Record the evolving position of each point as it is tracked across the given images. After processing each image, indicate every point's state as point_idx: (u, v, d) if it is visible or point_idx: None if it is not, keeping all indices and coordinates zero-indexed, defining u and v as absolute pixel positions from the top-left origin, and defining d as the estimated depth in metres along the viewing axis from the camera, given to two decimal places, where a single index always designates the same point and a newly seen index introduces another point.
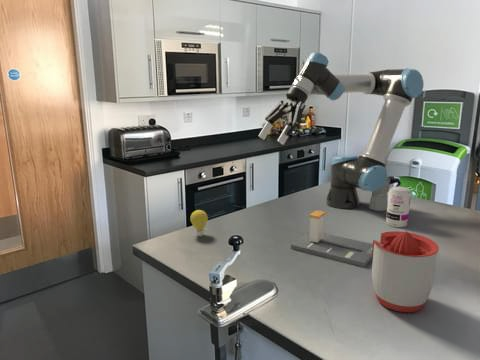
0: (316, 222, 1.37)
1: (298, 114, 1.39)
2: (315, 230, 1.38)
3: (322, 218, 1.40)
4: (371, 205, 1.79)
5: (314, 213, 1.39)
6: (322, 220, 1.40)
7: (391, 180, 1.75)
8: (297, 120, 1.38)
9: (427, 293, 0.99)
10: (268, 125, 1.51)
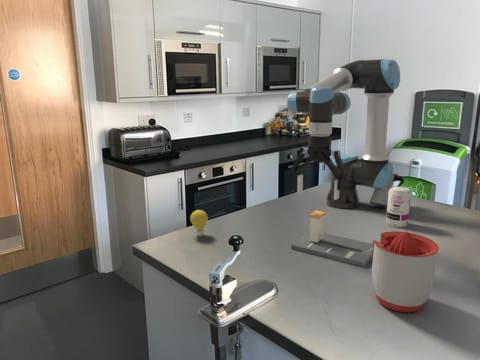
0: (316, 222, 1.37)
1: (342, 166, 1.30)
2: (315, 230, 1.38)
3: (322, 218, 1.40)
4: (372, 198, 1.79)
5: (314, 213, 1.39)
6: (322, 220, 1.40)
7: (395, 177, 1.79)
8: (345, 173, 1.30)
9: (427, 293, 0.99)
10: (300, 178, 1.40)
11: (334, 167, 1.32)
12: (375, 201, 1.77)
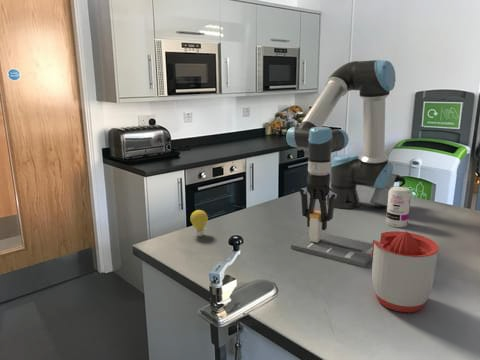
0: (316, 222, 1.37)
1: (332, 208, 1.35)
2: (315, 230, 1.38)
3: None
4: (373, 198, 1.79)
5: (314, 213, 1.39)
6: None
7: (397, 178, 1.78)
8: (331, 215, 1.36)
9: (427, 293, 0.99)
10: None
11: (325, 208, 1.37)
12: (375, 201, 1.77)
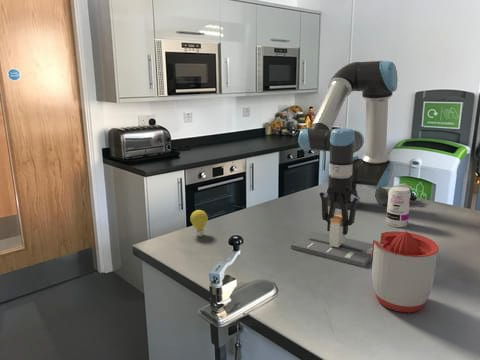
0: (337, 226, 1.33)
1: (354, 212, 1.31)
2: (336, 235, 1.34)
3: None
4: None
5: (335, 217, 1.35)
6: None
7: None
8: (353, 219, 1.32)
9: (427, 293, 0.99)
10: None
11: (346, 212, 1.33)
12: None
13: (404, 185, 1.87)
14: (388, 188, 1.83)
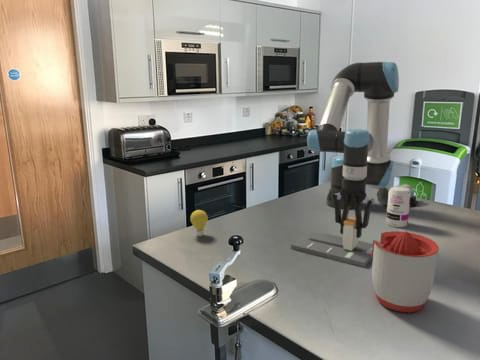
0: (351, 229, 1.31)
1: (368, 215, 1.28)
2: (350, 238, 1.31)
3: None
4: None
5: (348, 220, 1.32)
6: None
7: (412, 198, 1.84)
8: (367, 222, 1.29)
9: (427, 293, 0.99)
10: None
11: (360, 214, 1.30)
12: None
13: (408, 187, 1.85)
14: None
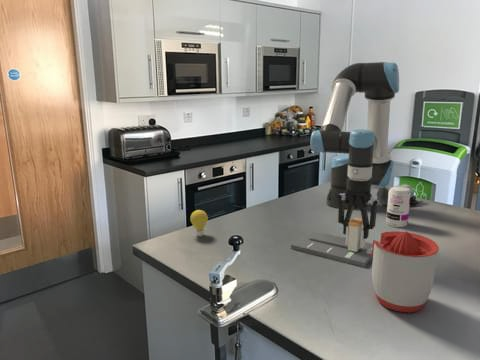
0: (356, 230, 1.30)
1: (374, 216, 1.27)
2: (355, 239, 1.31)
3: (361, 226, 1.32)
4: None
5: (353, 221, 1.32)
6: (361, 228, 1.32)
7: (412, 197, 1.84)
8: (374, 223, 1.28)
9: (427, 293, 0.99)
10: None
11: (366, 215, 1.29)
12: None
13: (408, 187, 1.85)
14: None
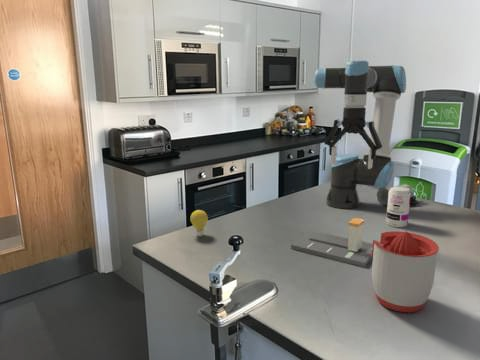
0: (356, 230, 1.30)
1: (376, 136, 1.36)
2: (355, 239, 1.31)
3: (361, 226, 1.32)
4: None
5: (353, 221, 1.32)
6: (361, 228, 1.32)
7: (412, 197, 1.84)
8: (379, 142, 1.36)
9: (427, 293, 0.99)
10: (334, 149, 1.46)
11: (368, 137, 1.38)
12: None
13: (408, 187, 1.85)
14: None
